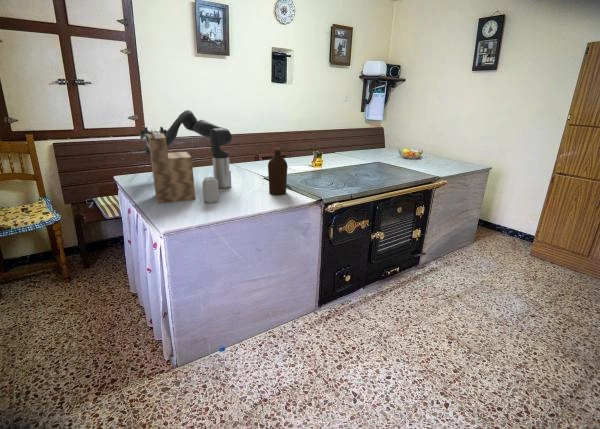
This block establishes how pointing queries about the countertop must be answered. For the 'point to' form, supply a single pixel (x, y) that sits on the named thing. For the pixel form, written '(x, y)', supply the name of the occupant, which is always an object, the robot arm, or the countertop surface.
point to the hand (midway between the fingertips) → (154, 128)
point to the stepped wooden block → (171, 172)
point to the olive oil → (277, 174)
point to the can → (210, 190)
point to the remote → (155, 133)
